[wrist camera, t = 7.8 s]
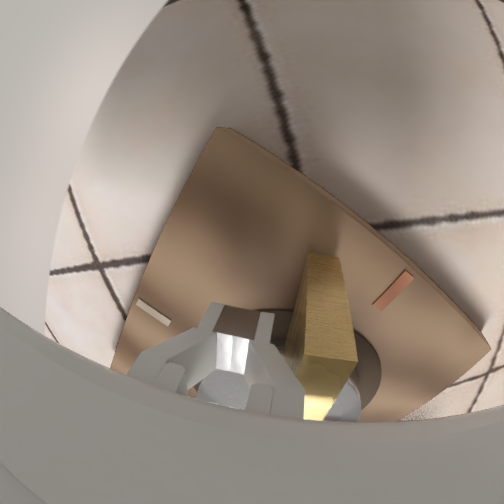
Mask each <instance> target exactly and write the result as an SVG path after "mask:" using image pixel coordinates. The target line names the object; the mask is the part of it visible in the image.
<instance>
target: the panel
mask: <svg viewBox="0 0 504 504" xmlns="http://www.w3.org/2000/svg"><path fill="white" fill-rule="evenodd" d="M308 252H313V253H318V254H323V255H328V256H333V257H339V259H340V263H341V268H342V273H343V277H344V282H345V287H346V292H347V297H348V303H349V308H350V314H351V319H352V325H353V331H354V338H355V344H356V351H357V358H358V363H357V364H356V366H355V368H354V370H355V371H356V373H357V376H358V380H359V390H360V400H361V415H360V417H359V420H358V422H397V421H398V420H400V419H402V418H403V417H405V416H407V415H408V414H410V413H411V412H413V411H414V410H416V409H418V408H419V407H421V406H422V405H424V404H425V403H427V402H428V401H429V400H431V399H432V398H434V397H435V396H437V395H438V394H439V393H441V392H442V391H443V390H445V389H446V388H447V387H449V386H450V385H451V384H452V383H454V382H455V381H456V380H457V379H459V378H460V377H461V376H462V375H464V374H465V373H466V372H467V371H468V370H469V369H471V368H472V367H473V366H474V365H475V364H476V363H477V362H478V361H480V360H481V359H482V358H483V357H484V356H485V355H486V354H487V353H488V352H489V351H490V350H491V348H490V346H489V344H488V342H487V341H486V339H485V337H484V336H483V334H482V332H481V331H480V330H479V329H478V328H477V327H476V325H475V324H474V323H473V322H472V321H471V320H470V319H469V318H468V317H467V315H466V314H465V313H464V312H463V311H462V310H461V309H460V308H459V307H458V306H457V305H456V304H455V303H454V302H453V301H452V300H451V299H450V297H449V296H448V295H447V294H446V293H445V292H444V291H443V290H442V289H441V288H440V287H439V286H438V285H437V284H436V283H435V282H434V281H432V280H431V279H430V278H429V277H428V276H427V275H426V274H425V273H424V272H423V271H422V270H421V269H420V268H419V267H418V266H417V265H416V264H414V263H413V262H412V261H411V260H410V259H409V258H408V257H407V256H406V255H405V254H403V253H402V252H401V251H400V250H399V249H398V248H397V247H395V246H394V245H393V244H392V243H391V242H390V241H389V240H387V239H386V238H385V237H384V236H383V235H381V234H380V233H379V232H378V231H377V230H375V229H374V228H373V227H372V226H371V225H369V224H368V223H367V222H366V221H364V220H363V219H362V218H361V217H359V216H358V215H357V214H356V213H354V212H353V211H352V210H351V209H349V208H348V207H347V206H345V205H344V204H343V203H341V202H340V201H339V200H338V199H336V198H335V197H334V196H332V195H331V194H329V193H328V192H327V191H325V190H324V189H323V188H321V187H320V186H319V185H317V184H316V183H314V182H313V181H312V180H310V179H309V178H307V177H306V176H304V175H303V174H302V173H300V172H299V171H297V170H296V169H294V168H293V167H291V166H290V165H288V164H287V163H285V162H284V161H282V160H281V159H279V158H278V157H276V156H275V155H273V154H272V153H270V152H268V151H267V150H265V149H264V148H262V147H261V146H259V145H257V144H256V143H254V142H253V141H251V140H249V139H248V138H246V137H244V136H243V135H241V134H239V133H238V132H236V131H234V130H233V129H231V128H225V127H217V128H216V129H215V131H214V133H213V135H212V136H211V138H210V140H209V141H208V143H207V145H206V147H205V148H204V150H203V152H202V154H201V156H200V157H199V159H198V161H197V163H196V165H195V167H194V168H193V170H192V172H191V174H190V176H189V178H188V180H187V182H186V184H185V185H184V187H183V189H182V191H181V193H180V195H179V197H178V199H177V201H176V203H175V205H174V207H173V209H172V212H171V214H170V216H169V218H168V220H167V222H166V224H165V226H164V228H163V231H162V233H161V235H160V237H159V239H158V242H157V244H156V246H155V248H154V251H153V253H152V255H151V258H150V260H149V262H148V265H147V267H146V269H145V272H144V274H143V277H142V279H141V282H140V284H139V287H138V289H137V292H136V294H135V297H134V300H133V302H132V305H131V308H130V310H129V313H128V316H127V319H126V321H125V324H124V327H123V330H122V333H121V336H120V339H119V342H118V345H117V348H116V351H115V354H114V357H113V361H112V364H111V367H110V369H112V370H115V371H117V372H120V373H122V374H124V375H126V374H127V373H128V371H129V370H130V368H131V367H132V365H133V364H134V362H135V361H136V359H137V358H138V356H139V355H140V353H141V352H142V351H144V350H146V349H149V348H151V347H153V346H155V345H157V344H159V343H162V342H164V341H166V340H168V339H170V338H172V337H174V336H177V335H179V334H181V333H183V332H185V331H187V330H189V329H191V328H193V327H194V328H198V326H199V324H200V322H201V320H202V318H203V316H204V314H205V312H206V310H207V308H208V306H209V304H210V303H211V302H216V303H220V304H224V305H230V306H234V307H239V308H244V309H248V310H253V311H258V312H267V313H274V314H275V317H274V323H273V329H272V335H271V338H286V337H287V333H288V329H289V326H290V322H291V318H292V314H293V311H294V307H295V303H296V299H297V295H298V291H299V287H300V283H301V279H302V275H303V270H304V266H305V262H306V257H307V253H308ZM201 382H202V380H201V381H200V382H198V383H197V384H196V385H194V386H193V387H192V388H190V389H189V390H188V396H189V397H192V398H196V399H197V392H198V389H199V386H200V384H201Z"/></svg>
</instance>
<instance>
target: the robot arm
mask: <svg viewBox="0 0 504 504" xmlns="http://www.w3.org/2000/svg"><path fill="white" fill-rule="evenodd" d="M274 317H275V314H274V313H267V312H258V311H253V310H248V309H244V308H239V307H234V306H230V305H224V304H220V303H216V302H211V303H210V304H209V306H208V308H207V310H206V312H205V314H204V316H203V318H202V320H201V322H200V324H199V326H198V328H194V327H193V328H191V329H189V330H187V331H185V332H183V333H181V334H179V335H177V336H174V337H172V338H170V339H168V340H166V341H164V342H162V343H159V344H157V345H155V346H153V347H151V348H149V349H146V350H144V351H142V352H141V353H140V355H139V356H138V358H137V359H136V361H135V362H134V364H133V365H132V367H131V368H130V370H129V371H128V373H127V374H126V375H124V374H122V373H120V372H117V371H115V370H112V369H110V368H108V367H105V366H103V365H101V364H99V363H97V362H94V361H92V360H90V359H88V358H86V357H84V356H82V355H80V354H78V353H76V352H74V351H72V350H70V349H68V348H66V347H64V346H62V345H60V344H59V343H57V342H55V341H53V340H51V339H50V338H48V337H46V336H44V335H43V334H41V333H39V332H38V331H36V330H34V329H33V328H31V327H30V326H28V325H26V324H25V323H23V322H22V321H20V320H19V319H17V318H16V317H14V316H13V315H11V314H10V313H8V312H7V311H6V310H4V309H3V308H1V307H0V504H504V405H501V406H497V407H493V408H489V409H485V410H481V411H476V412H471V413H466V414H461V415H455V416H448V417H441V418H433V419H424V420H413V421H397V422H339V421H322V420H311V419H303V417H304V400H305V389H304V387H303V386H302V385H301V383H300V382H299V380H298V379H297V378H295V374H294V373H293V371H292V370H291V369H290V367H289V366H288V364H287V363H286V361H285V360H284V358H283V357H282V355H281V354H280V352H279V351H278V349H277V348H276V346H275V345H274V344H270V341H271V335H272V329H273V323H274ZM215 368H216V369H221V370H226V371H231V372H235V373H239V374H243V375H244V377H245V380H246V382H247V384H248V387H249V389H250V392H249V396H248V399H247V403H246V407H245V410H242V409H237V408H233V407H228V406H224V405H219V404H215V403H211V402H207V401H203V400H200V399H196V398H192V397H189V396H188V390H189V389H190V388H192V387H193V386H194V385H196V384H197V383H198V382H200V381H201V380H202V379H204V378H205V377H206V376H208V375H209V374H210V373H212V372H213V371H214V370H215Z"/></svg>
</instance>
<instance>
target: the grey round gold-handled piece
mask: <svg viewBox="0 0 504 504" xmlns="http://www.w3.org/2000/svg"><path fill="white" fill-rule="evenodd" d="M270 344H274V345H275V346H276V348H277V349H278V351H279V352H280V354H281V355H282V357H283V358H284V360H285V361H286V363H287V364H288V366H289V367H290V369H291V370H292V371H293V373H294V374H295V378H297V379H298V380H299V382H300V383H301V385H302V386H303V387H304V389H305V400H304V417H303V419H311V420H322V421H339V422H358V420H359V417H360V415H361V400H360V390H359V380H358V376H357V373H356V371H355V370H354V368H355V366H356V364H357V363H358V358H357V351H356V344H355V338H354V331H353V325H352V319H351V314H350V308H349V303H348V297H347V292H346V287H345V282H344V277H343V273H342V268H341V263H340V259H339V257H333V256H328V255H323V254H318V253H313V252H308V253H307V257H306V262H305V266H304V270H303V275H302V279H301V283H300V287H299V291H298V295H297V299H296V303H295V307H294V311H293V314H292V318H291V322H290V326H289V329H288V333H287V337H286V338H271V341H270ZM249 392H250V389H249V387H248V384H247V382H246V380H245V377H244V375H243V374H239V373H235V372H231V371H226V370H221V369H216V368H215V370H214V371H213V372H212V373H210V374H209V375H208V376H206V377H205V378H204V379H202V382H201V384H200V386H199V389H198V392H197V399H200V400H203V401H207V402H211V403H215V404H219V405H224V406H228V407H233V408H237V409H242V410H245V407H246V403H247V399H248V396H249Z"/></svg>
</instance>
